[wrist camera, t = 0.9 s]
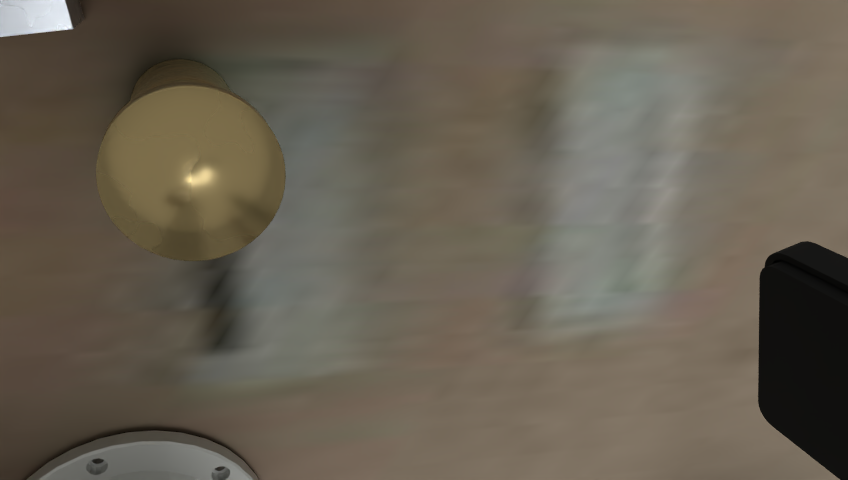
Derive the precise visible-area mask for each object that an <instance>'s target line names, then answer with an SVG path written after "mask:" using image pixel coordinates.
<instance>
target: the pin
mask: <svg viewBox="0 0 848 480" xmlns="http://www.w3.org/2000/svg"><path fill="white" fill-rule="evenodd" d="M285 177H286V176H285V164H284V159H283V154H282V151H281V148H280V145H279V143H278V141H277V139H276V137H275V135H274V133H273V132H272V130H271V129H270V127H269V126H268V124H267V123H266V121H265V120H264V118H263V117H262V116H261V115H260V114H259V112H258V111H257V110H256V109H255V108H254V107H253V106H251V105H250V104H249V103H248V102H247V101H245V100H244V99H242V98H241V97H239V96H238V95H236V94H234V93H232V92H231V91H230V89H229V87H228V86H227V84H226V83H225V81H224V80H223V79H222V78H221V77H220V76H219V75H218V74H217V73H216V72H215V71H214V70H212V69H211V68H209V67H208V66H206V65H204V64H201V63H199V62H196V61H192V60H186V59H173V60H167V61H164V62H161V63H158V64H156V65H154V66H152V67H151V68H149V69H148V70H147V71H146V72H144V74H143V75H142V76H141V77H140V78H139V80H138V81H137V83H136V84H135V86H134V89H133V92H132V95H131V100H130V101H129V102H128V103H127V104H126V105H124V106H123V107H122V109H121V110H120V111H119V112H118V113H117V114H116V115H115V117H114V118H113V120H112V121H111V123H110V124H109V126H108V128H107V130H106V132H105V134H104V137H103V140H102V143H101V147H100V150H99V153H98V158H97V165H96V180H97V187H98V192H99V195H100V198H101V202H102V204H103V206H104V208H105V210H106V212H107V214H108V215H109V217H110V219H111V220H112V222H113V223H114V224H115V225H116V226H117V228H118V229H119V230H120V231H121V232H122V233H123V234H124V235H125V236H126V237H128V238H129V239H130V240H131V241H133V242H134V243H136V244H137V245H138V246H140V247H142V248H144V249H146V250H148V251H149V252H152V253H154V254H157V255H160V256H162V257H166V258H171V259H175V260H184V261H201V260H210V259H214V258H219V257H222V256H225V255H228V254H231V253H233V252H235V251H237V250H239V249H241V248H243V247H244V246H246V245H248V244H249V243H251V242H252V241H253V240H254V239H255V238H257V237H258V236H259V235H260V234H261V233H262V232H263V231H264V230H265V229H266V228H267V226H268V225H269V224H270V222H271V221H272V219H273V218H274V216H275V214H276V212H277V210H278V209H279V206H280V203H281V200H282V197H283V193H284V188H285Z"/></svg>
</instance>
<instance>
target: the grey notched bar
mask: <svg viewBox="0 0 848 480" xmlns="http://www.w3.org/2000/svg"><path fill="white" fill-rule="evenodd" d="M83 20H84V15H83V12H82V8H81V4H80V0H0V37H4V36H13V35H22V34H31V33H41V32H50V31H59V30H68V29H73V28H75V27H76V26H77V25H78V24H80V23H81V22H82V21H83Z"/></svg>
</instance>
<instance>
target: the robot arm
mask: <svg viewBox="0 0 848 480" xmlns="http://www.w3.org/2000/svg"><path fill="white" fill-rule="evenodd" d="M758 403H759V407H760V410H761V412H762V414H763V416H764V418H765V419H766V420H767V421H768V423H770V424H771V425H772V426H773V427H774V428H775V429H777V430H778V431H779V432H780V433H782V434H783V435H784V436H786V437H787V438H788V439H789V440H791V441H792V442H793V443H794V444H796V445H797V446H798V447H800V448H801V449H802V450H803V451H805V452H806V453H807V454H808V455H810V456H811V457H812V458H813V459H815V460H816V461H817V462H819V463H820V464H821V465H822V466H824V467H825V468H826V469H827V470H829V471H830V472H831V473H833V474H834V475H835V476H836V477H838V478H839V479H840V480H848V258H846V257H844V256H842V255H840V254H837V253H835V252H833V251H831V250H829V249H826V248H824V247H822V246H820V245H818V244H815V243H812V242H809V241H806V242H800V243H798V244H795V245H793V246H790V247H788V248H786V249H783V250H781V251H778V252H776V253H773V254H772V255H770V256H769V257H768V258H767V260H766V262H765V268H763V269H762V271H761V273H760V299H759V383H758ZM26 480H258V478H257V476H256V474H255V473H254V472H253V471H252V470H251V469H250V467H249V466H248V465H247V464H246V463H245V462H244V461H243V460H242V459H241V458H239V457H238V456H237V455H235V454H234V453H233V452H231V451H230V450H228V449H227V448H225V447H223V446H221V445H219V444H216V443H214V442H212V441H210V440H208V439H205V438H201V437H197V436H193V435H189V434H185V433H181V432H168V431H156V430H154V431H140V432H127V433H122V434H118V435H113V436H109V437H104V438H100V439H97V440H94V441H92V442H89V443H86V444H84V445H81V446H78V447H76V448H73V449H71V450H69V451H67V452H66V453H64V454H62V455H60V456H59V457H57V458H55V459H53V460H51V461H50V462H48V463H46V464H45V465H44V466H43V467H41V468H40V469H39V470H38V471H36V472H35V473H34V474H33V475H31V476H30V477H29V478H28V479H26Z"/></svg>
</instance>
